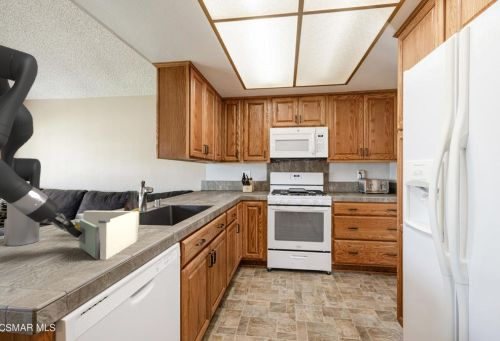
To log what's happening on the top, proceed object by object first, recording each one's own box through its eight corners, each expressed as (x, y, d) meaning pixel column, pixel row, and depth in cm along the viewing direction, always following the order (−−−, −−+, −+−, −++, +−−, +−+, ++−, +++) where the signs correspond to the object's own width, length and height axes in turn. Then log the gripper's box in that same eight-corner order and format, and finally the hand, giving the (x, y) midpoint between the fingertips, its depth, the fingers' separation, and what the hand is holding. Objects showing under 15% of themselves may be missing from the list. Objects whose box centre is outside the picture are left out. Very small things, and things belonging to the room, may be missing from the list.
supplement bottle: (89, 233, 105) (90, 212, 105) (89, 236, 101) (89, 214, 101) (75, 235, 102) (75, 213, 102) (74, 238, 98) (74, 215, 98)
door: (78, 246, 86) (78, 219, 86) (82, 246, 87) (82, 219, 87) (94, 259, 75) (94, 227, 75) (99, 257, 76) (99, 227, 76)
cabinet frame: (38, 259, 75) (38, 219, 75) (86, 239, 97) (86, 208, 97) (105, 260, 75) (105, 220, 75) (138, 240, 96) (138, 209, 96)
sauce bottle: (132, 237, 101) (133, 191, 101) (119, 236, 102) (120, 190, 102) (142, 233, 107) (142, 190, 107) (130, 232, 108) (130, 189, 108)
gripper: (54, 196, 72) (96, 228, 82) (38, 194, 79) (78, 224, 89) (31, 216, 67) (78, 247, 78) (16, 211, 74) (61, 241, 84)
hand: (78, 235), depth 83 cm, fingers closed
